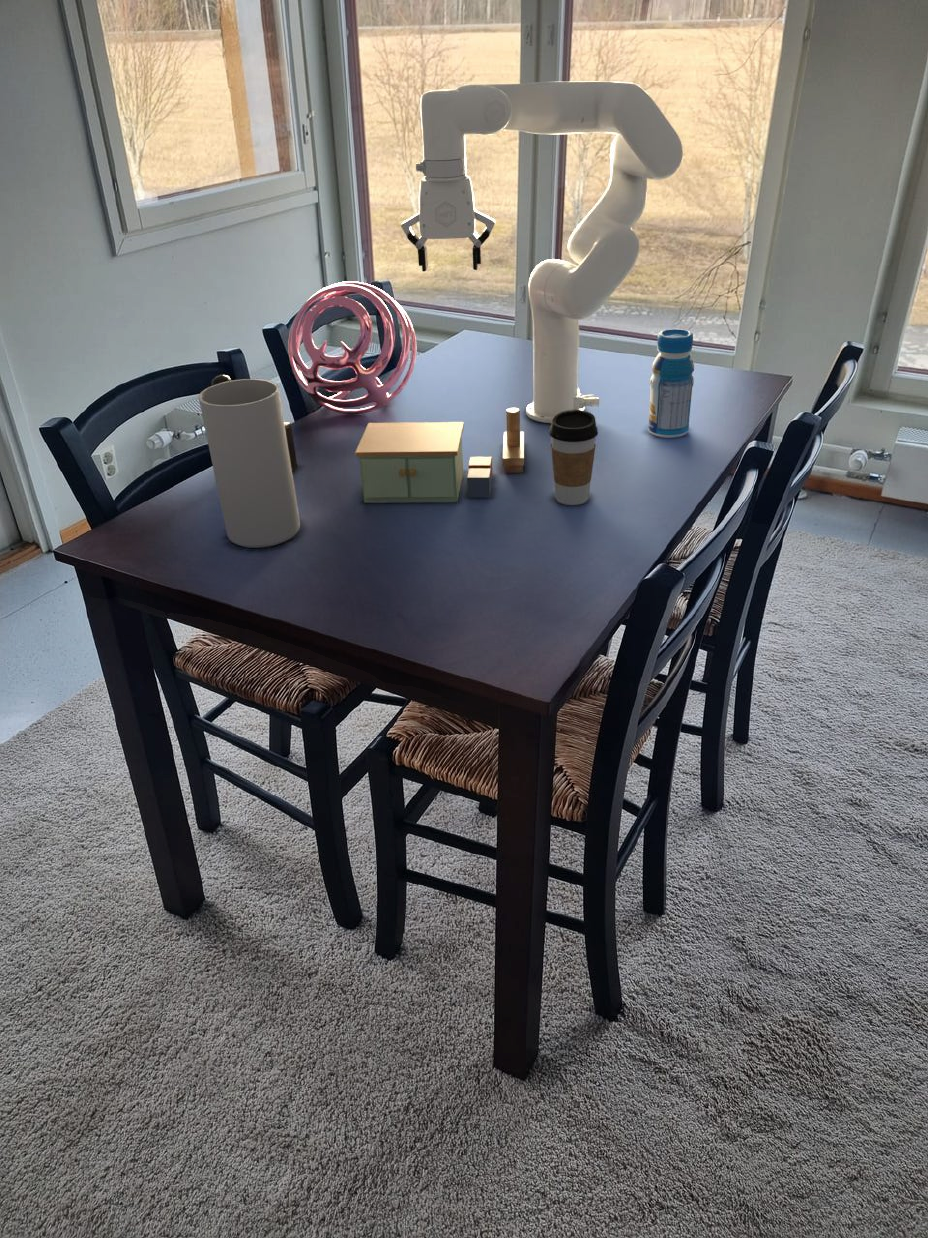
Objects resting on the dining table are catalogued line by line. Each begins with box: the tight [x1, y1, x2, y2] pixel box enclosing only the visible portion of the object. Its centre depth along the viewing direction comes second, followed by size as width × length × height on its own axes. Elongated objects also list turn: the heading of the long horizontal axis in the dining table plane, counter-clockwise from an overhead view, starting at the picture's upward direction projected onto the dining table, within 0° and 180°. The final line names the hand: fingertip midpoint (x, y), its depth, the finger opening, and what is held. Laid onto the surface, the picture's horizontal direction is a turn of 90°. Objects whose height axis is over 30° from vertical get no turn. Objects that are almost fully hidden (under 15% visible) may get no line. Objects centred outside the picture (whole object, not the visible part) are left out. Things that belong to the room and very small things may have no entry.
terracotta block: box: [468, 456, 493, 482], centre depth 174 cm, size 4×4×4 cm
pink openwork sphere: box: [287, 281, 418, 415], centre depth 205 cm, size 28×28×27 cm
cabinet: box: [354, 421, 465, 504], centre depth 171 cm, size 18×15×10 cm
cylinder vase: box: [198, 378, 301, 549], centre depth 154 cm, size 12×12×25 cm
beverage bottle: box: [647, 328, 695, 439], centre depth 186 cm, size 8×8×20 cm
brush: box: [502, 407, 525, 474], centre depth 180 cm, size 4×13×10 cm, turn 177°
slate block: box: [466, 467, 493, 499], centre depth 169 cm, size 4×4×4 cm
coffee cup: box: [548, 410, 599, 506], centre depth 163 cm, size 8×8×15 cm
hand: (450, 268), depth 176 cm, fingers open, 9 cm apart
